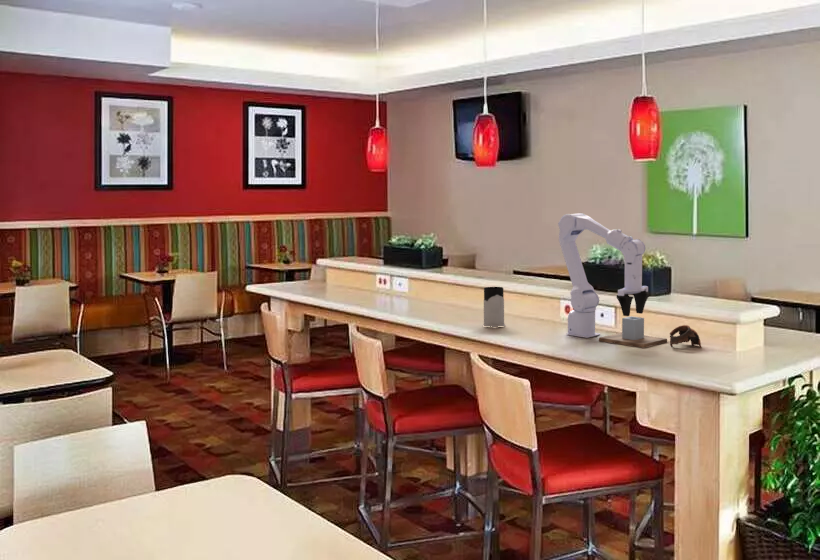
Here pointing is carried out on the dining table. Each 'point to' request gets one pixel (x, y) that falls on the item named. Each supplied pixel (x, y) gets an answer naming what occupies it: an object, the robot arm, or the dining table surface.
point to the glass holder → (493, 306)
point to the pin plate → (640, 343)
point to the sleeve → (633, 328)
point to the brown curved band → (684, 336)
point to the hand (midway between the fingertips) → (632, 314)
